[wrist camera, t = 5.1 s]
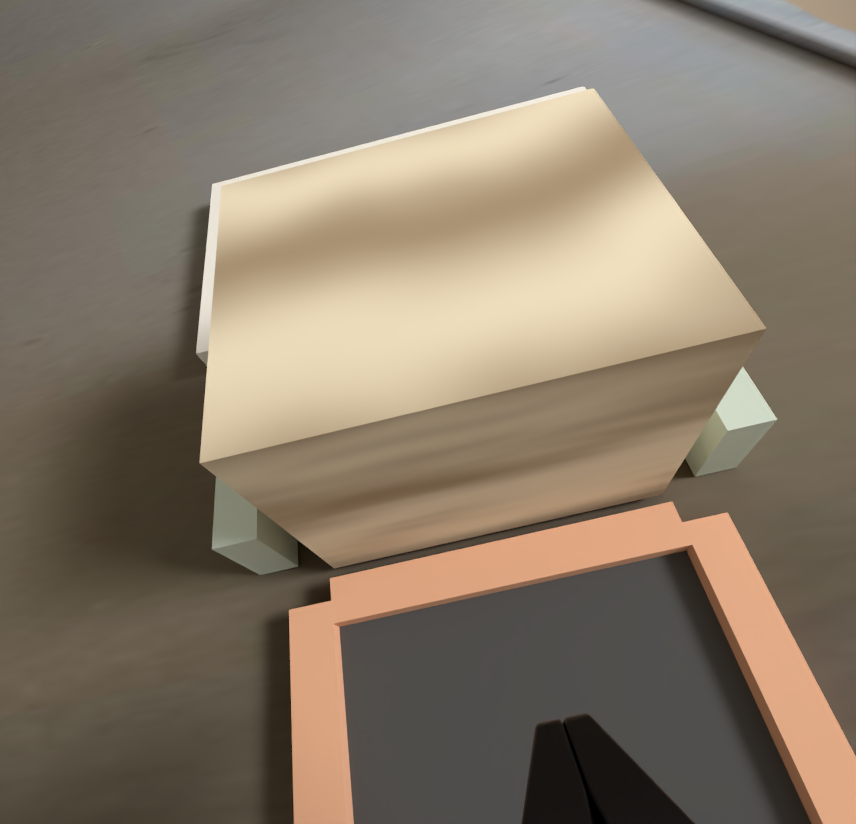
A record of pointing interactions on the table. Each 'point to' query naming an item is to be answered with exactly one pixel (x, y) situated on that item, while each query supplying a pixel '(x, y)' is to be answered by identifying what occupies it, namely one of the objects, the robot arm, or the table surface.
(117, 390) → the table surface
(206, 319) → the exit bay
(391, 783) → the frame
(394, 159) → the maple block
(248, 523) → the sage guide walls
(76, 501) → the table surface
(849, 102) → the table surface
